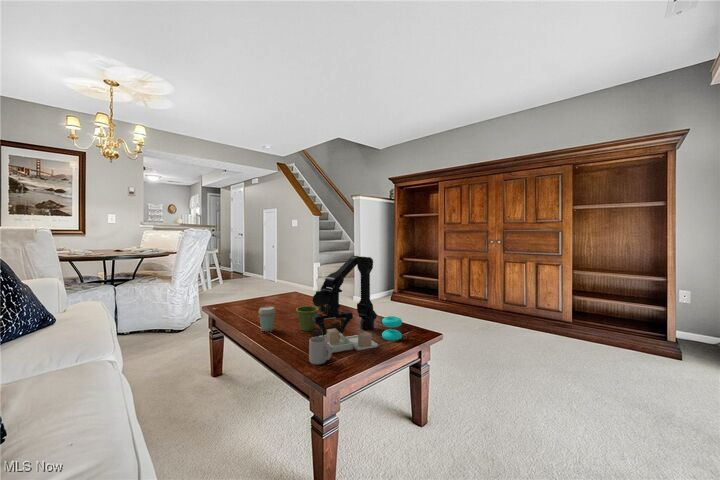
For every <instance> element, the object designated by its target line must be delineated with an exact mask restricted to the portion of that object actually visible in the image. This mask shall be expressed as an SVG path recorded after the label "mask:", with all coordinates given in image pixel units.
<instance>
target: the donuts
mask: <svg viewBox="0 0 720 480" xmlns="http://www.w3.org/2000/svg"><path fill="white" fill-rule="evenodd" d="M381 322H382V324H383V326H385V327H387V328H391V329H385V330H384V331H383V332H382V333H381V337H382V338H383V339H384V340H387V341H399V339H400V340H401V339H402V337H403V334H402V332H401V331H400V330H397V329H392V328H398V327H400V326H402V324H403V320H402V318H400V317H399V316H398V317H397V316H391V315H390V316H385V317H383V318H382V320H381Z"/></svg>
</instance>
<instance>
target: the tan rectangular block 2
mask: <svg viewBox="0 0 720 480" xmlns="http://www.w3.org/2000/svg"><path fill="white" fill-rule="evenodd" d="M357 335H358V345H359V346H360V347H366V346H372V341H373V340H372V337H373V335H372V334H371V333H369V332H368V331H363V332H359V333H358V334H357Z"/></svg>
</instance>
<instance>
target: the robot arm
mask: <svg viewBox="0 0 720 480" xmlns="http://www.w3.org/2000/svg"><path fill="white" fill-rule="evenodd" d="M356 266H357V270H358V271H359V273H360V274H359V275H360V300H359V302H358V303H356V312H357V315H358V318H361V319H360V327H359V328H360V329H361V330H363V332H368V331H374V330H376V328H375V320H376V319H377V317H378V314H377V312H376V311H375V310H374V305H373V303H372V300H371V278H370V277H371V272H372V270H373V268H374V259H373V258H372V257H371V256H370V257H369V256H359V255H350V256H349V258H348V259H347V260H346V261H345V262H344V263H343V264H342V265H341V266H340V267H339V268H338V269H337V270H336V271H334V272H332V273H330V274H328V275H327V276H326V277H325V278H324V281H323V283H322V285H321V287H320V290H316V291H315V294H314V295H313V296H312V303H313V305H314V307H318V311H319V313H318V314H316V315H313V317H312V321H313V322H314V323H315V325H317V326H318V327H319V329H321V332H322V335H323V336H324V335H326V334H325V327H326V326H325V323H324V322H325V321H326V320H333V319H334V320H336V319H340V333H341V334H342V335H343V333H344V331H345V328H346V327H347V325H348V323H349V322H351V320H353V318H354V315H353V313H352V312H350V311H349V310H343V311H340V307H341V305H340V293H342V292H343V290H342V289H341V286H342V285H343V284H344V279H345V278H346V277H347V276H348V275H349V273H350V272H351V271H352V270H354V268H355V267H356ZM339 311H340V312H339ZM321 313H323V315H322V314H321Z"/></svg>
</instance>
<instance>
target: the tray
mask: <svg viewBox="0 0 720 480" xmlns="http://www.w3.org/2000/svg"><path fill="white" fill-rule="evenodd" d="M345 337H346V338H347V339H348V340H350V341H351V342H352V343H353V349H355V350H356V351H363V350H368V349H373V348H377V347H379V346H380V345H379V343H377V342H375V341H374V340H372V346H366V347H360V346H359V345H358V334H356V335H350V336H345Z"/></svg>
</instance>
